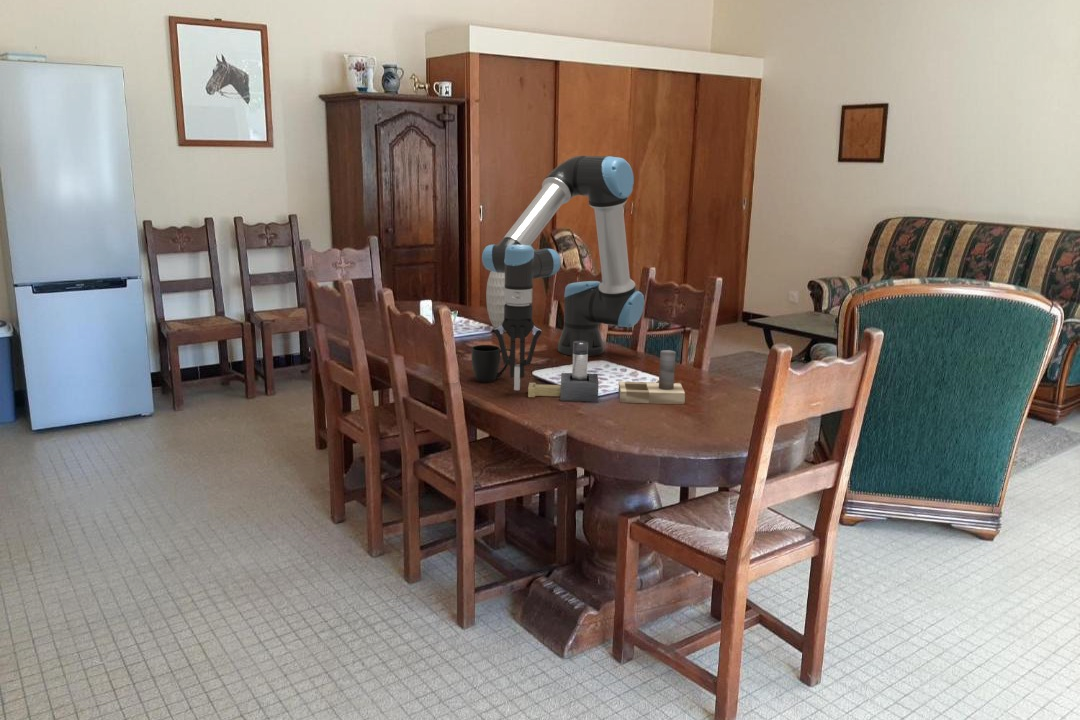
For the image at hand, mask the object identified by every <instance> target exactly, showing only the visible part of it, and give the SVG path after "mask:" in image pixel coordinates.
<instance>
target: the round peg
mask: <svg viewBox="0 0 1080 720" xmlns="http://www.w3.org/2000/svg"><path fill="white" fill-rule="evenodd" d="M588 359H589V356H588V342H587V341H574V342H573V356H572V370H571V371H572V372H571V373H572V381H587V374H588Z"/></svg>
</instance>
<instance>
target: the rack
mask: <svg viewBox="0 0 1080 720" xmlns="http://www.w3.org/2000/svg"><path fill="white" fill-rule="evenodd" d="M676 354H677V352H676V351H674V350H671V349H667V350H665V349H663V350H661V351H660V354H659V355H660V356H659V357H660V358H659V371H658V373H659V376H658V382H652V381H651V382H645V381H618V391H619V392H618V396H619V402H620V403H624V404H625V403H628V404H629V403H631V404H634V403H635V404H657V405H658V404H661V405H685V402H686V401H685V399H686V392H685V390H684V388H683V386H682V383H680V382H675V370H676Z"/></svg>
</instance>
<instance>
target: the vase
mask: <svg viewBox="0 0 1080 720" xmlns="http://www.w3.org/2000/svg"><path fill="white" fill-rule="evenodd" d="M504 287H505V273H497V272H494V271H490V272H489V275H488V278H487V282H486V292H485V293H486V294H485V295H486V296H485V297H486V309H487V314H488V318H489V320H490V323H491V325H492V328H493V329H494V330H495V328H498V327H500V326H502V323H503V321H504V305H505V304H506V302H505V301H504ZM503 331H504V332H503V333H506V331H505V330H504V329H503Z"/></svg>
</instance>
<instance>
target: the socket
mask: <svg viewBox="0 0 1080 720" xmlns="http://www.w3.org/2000/svg"><path fill="white" fill-rule="evenodd" d="M599 383H600V382H599V376H598V373H587V381H572V372H561V373H560V385H561V396H560V399H559V400H560V402H590V403H591V402H592V403H593V402H597V403H598V401H599V386H600V385H599Z"/></svg>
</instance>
